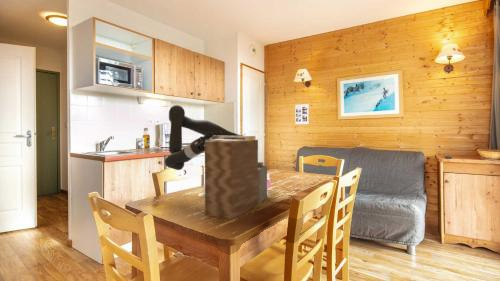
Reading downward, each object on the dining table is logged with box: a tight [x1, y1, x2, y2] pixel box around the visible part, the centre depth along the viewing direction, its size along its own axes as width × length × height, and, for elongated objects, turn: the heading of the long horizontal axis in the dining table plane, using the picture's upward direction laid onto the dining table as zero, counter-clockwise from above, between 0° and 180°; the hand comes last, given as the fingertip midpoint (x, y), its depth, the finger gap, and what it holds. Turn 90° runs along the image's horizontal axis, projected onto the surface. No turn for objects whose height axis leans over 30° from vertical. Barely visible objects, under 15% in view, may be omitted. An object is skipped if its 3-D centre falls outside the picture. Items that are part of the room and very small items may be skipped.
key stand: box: [204, 137, 259, 220], centre depth 124 cm, size 14×24×33 cm, turn 153°
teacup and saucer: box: [198, 187, 205, 197], centre depth 152 cm, size 9×8×4 cm
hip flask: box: [258, 161, 268, 205], centre depth 140 cm, size 16×4×20 cm, turn 162°
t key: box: [212, 135, 256, 141], centre depth 130 cm, size 22×8×2 cm, turn 62°
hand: (217, 133), depth 134 cm, fingers open, 8 cm apart
